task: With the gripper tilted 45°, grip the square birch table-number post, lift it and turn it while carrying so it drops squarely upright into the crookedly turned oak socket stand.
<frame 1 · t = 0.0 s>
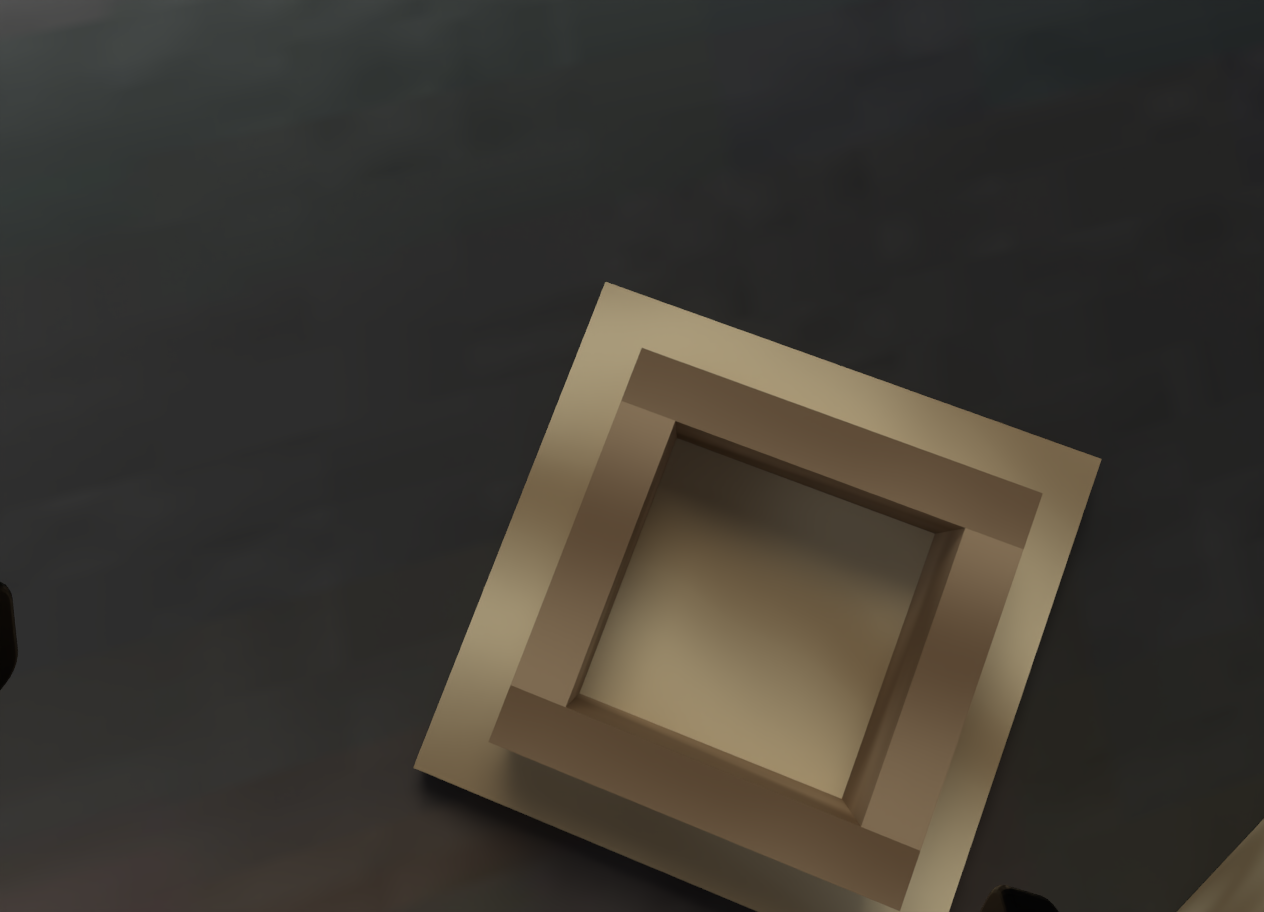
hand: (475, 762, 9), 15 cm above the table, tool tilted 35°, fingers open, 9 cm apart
socket stand: (754, 612, 23), on the table
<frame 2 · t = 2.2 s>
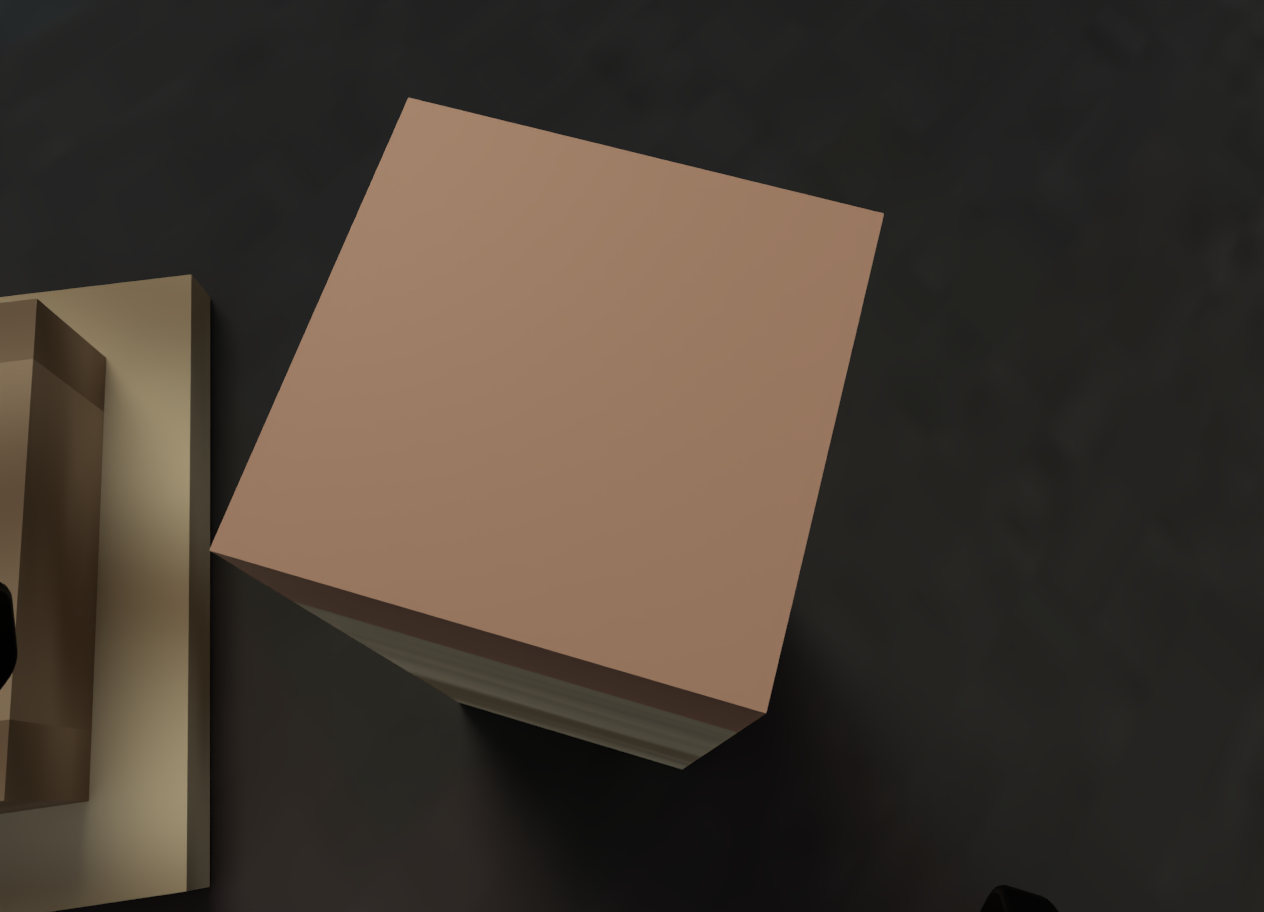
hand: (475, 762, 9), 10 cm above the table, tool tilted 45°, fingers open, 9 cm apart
birch post: (603, 623, 19), on the table
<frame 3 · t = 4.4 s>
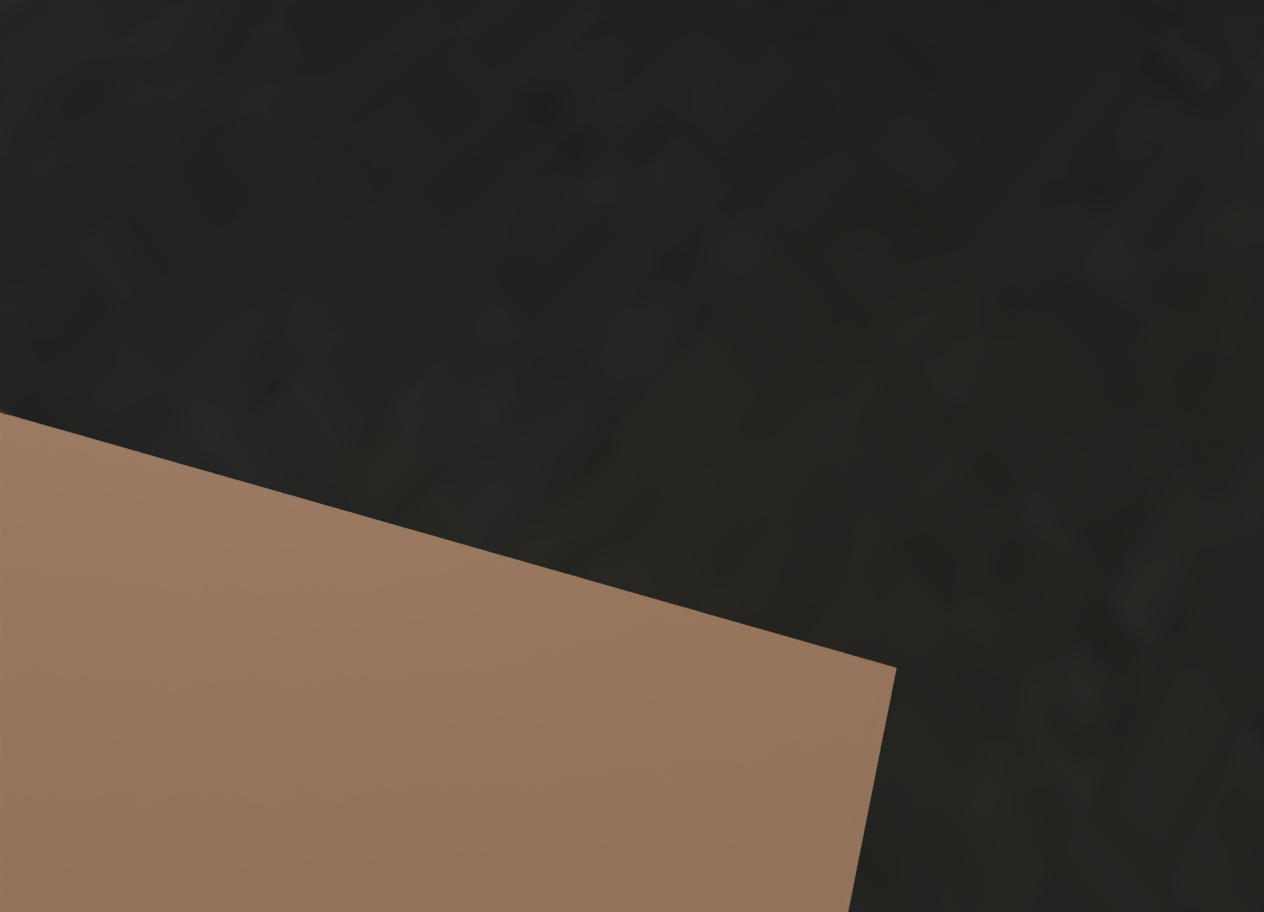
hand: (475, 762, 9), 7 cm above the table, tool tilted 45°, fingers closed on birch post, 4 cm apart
birch post: (510, 872, 14), on the table, touching gripper
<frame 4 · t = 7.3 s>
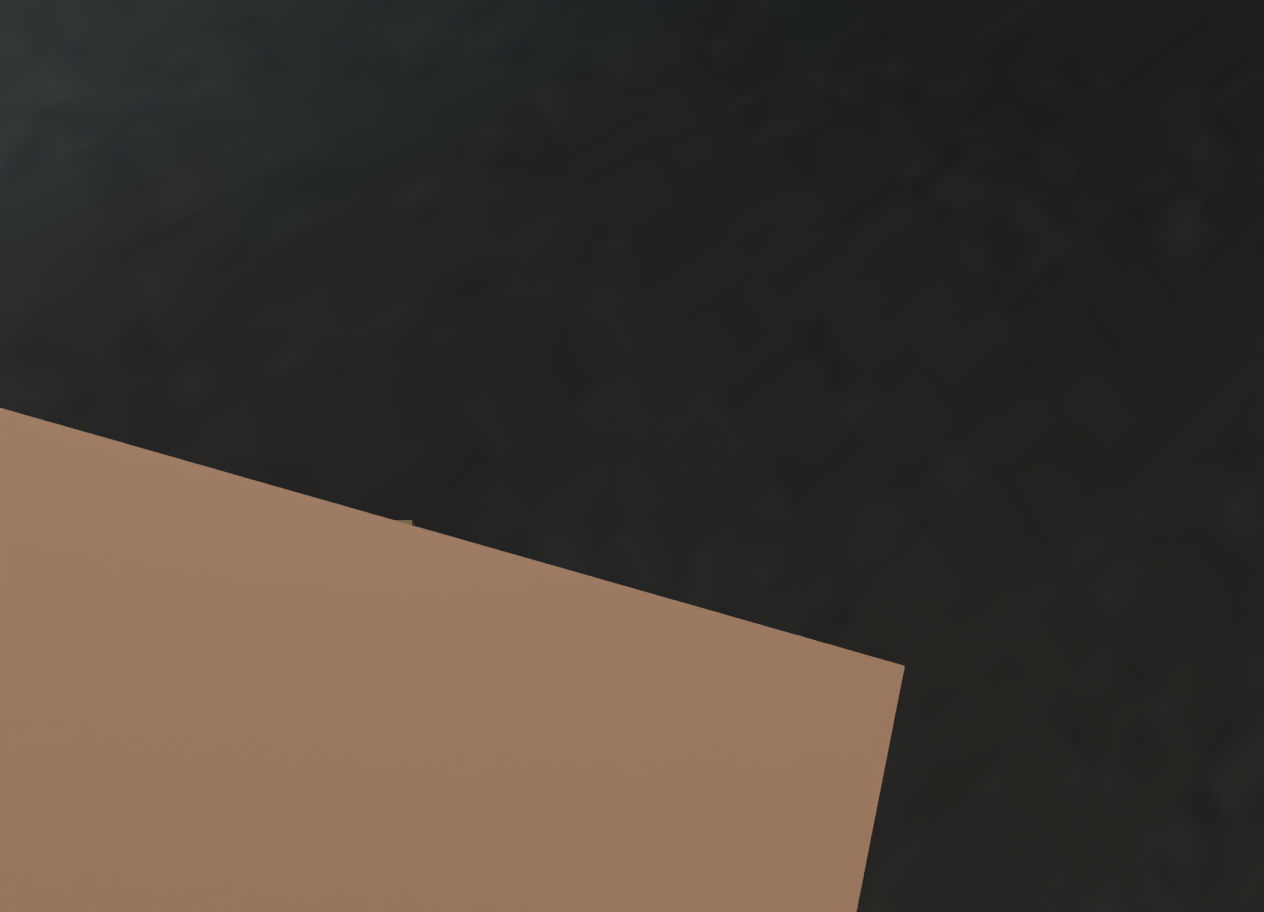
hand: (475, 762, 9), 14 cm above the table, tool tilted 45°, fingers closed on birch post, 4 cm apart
birch post: (513, 872, 14), point 7 cm above the table, touching gripper
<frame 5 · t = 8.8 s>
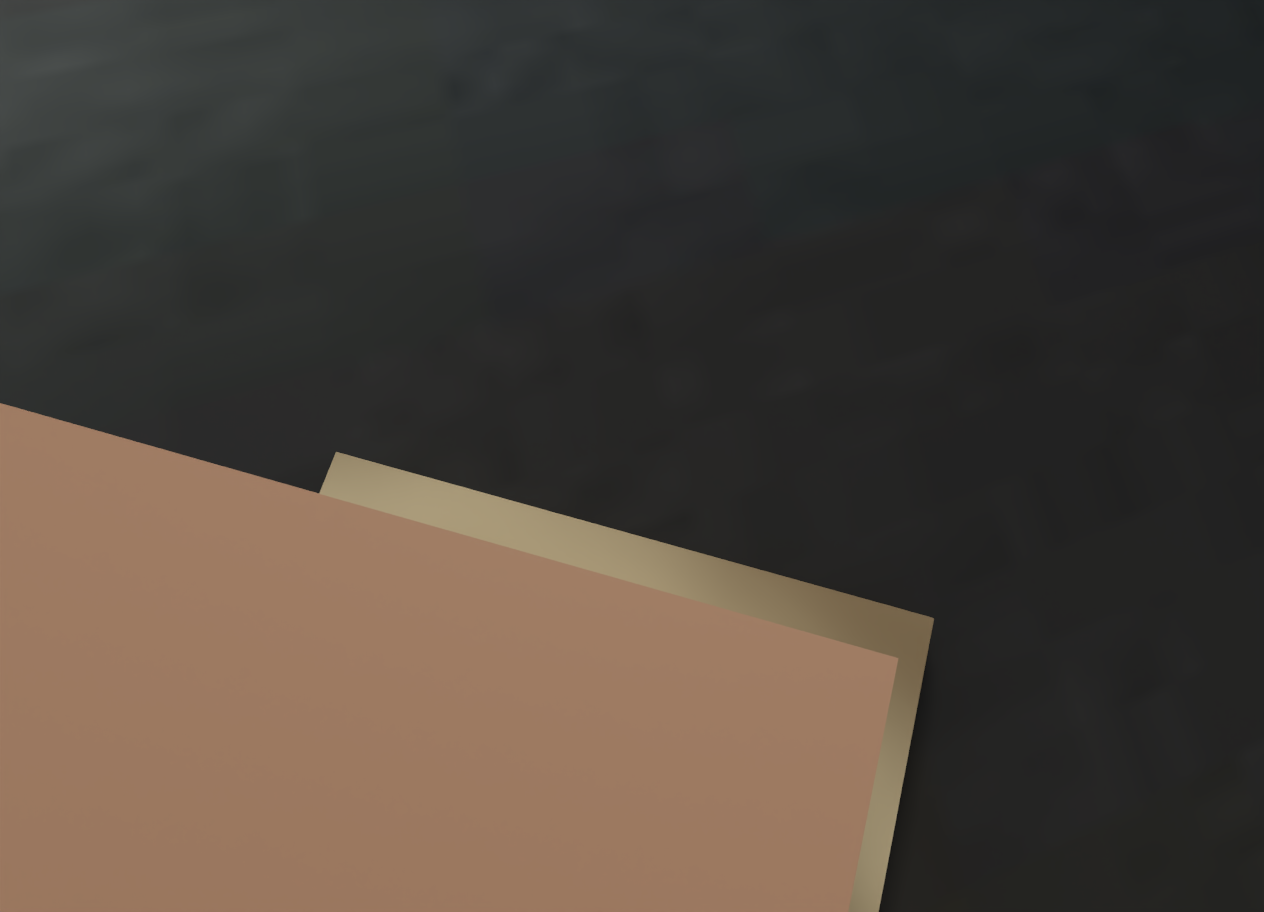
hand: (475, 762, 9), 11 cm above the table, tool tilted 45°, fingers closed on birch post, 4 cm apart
birch post: (511, 870, 14), point 4 cm above the table, touching gripper
socket stand: (536, 851, 18), on the table
when the fingers open (9 cm above the table, at t = 10.2 s): birch post drops 1 cm, resting on socket stand.
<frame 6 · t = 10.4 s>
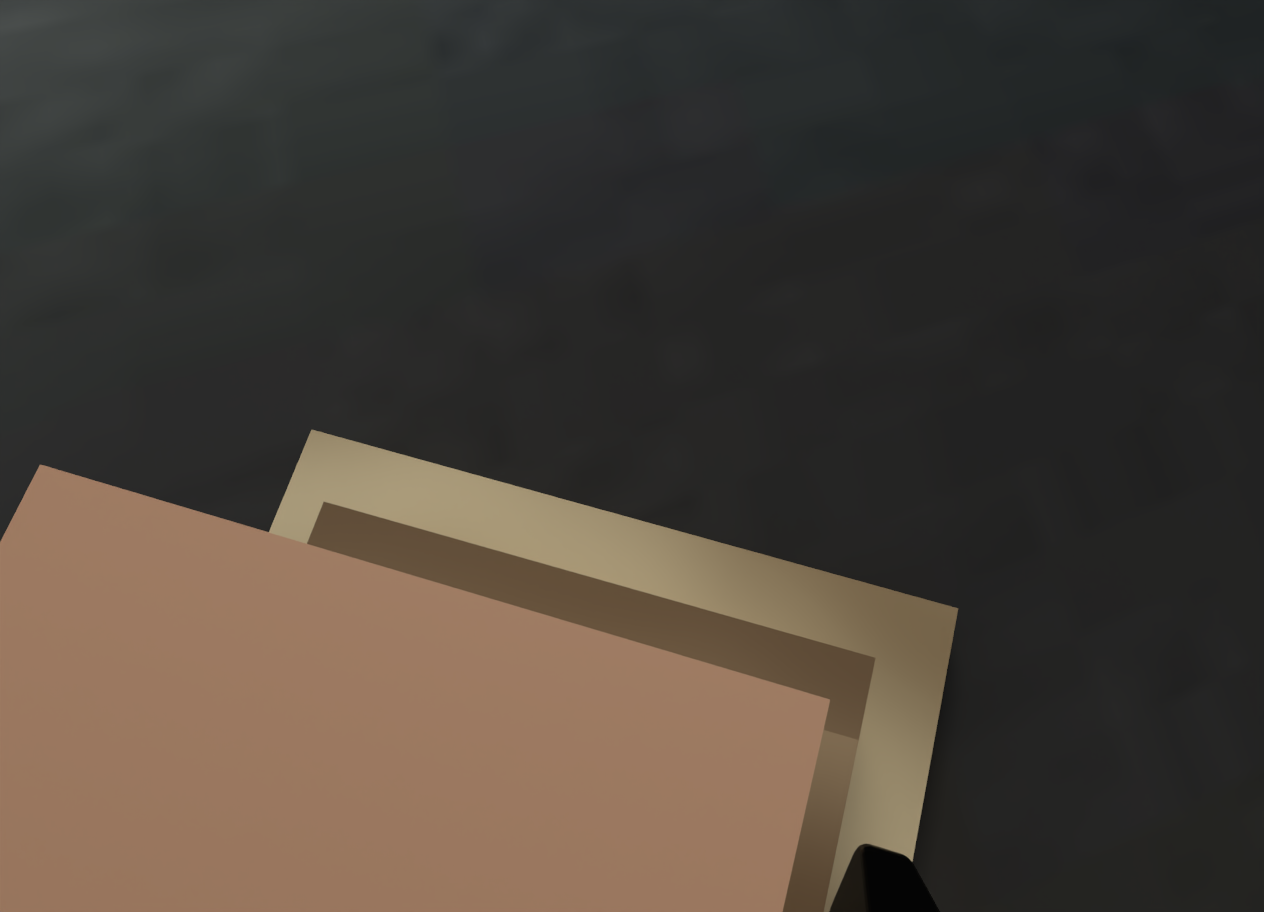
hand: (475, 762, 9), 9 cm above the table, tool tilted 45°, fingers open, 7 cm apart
birch post: (523, 863, 16), point 1 cm above the table, touching socket stand
socket stand: (527, 861, 17), on the table
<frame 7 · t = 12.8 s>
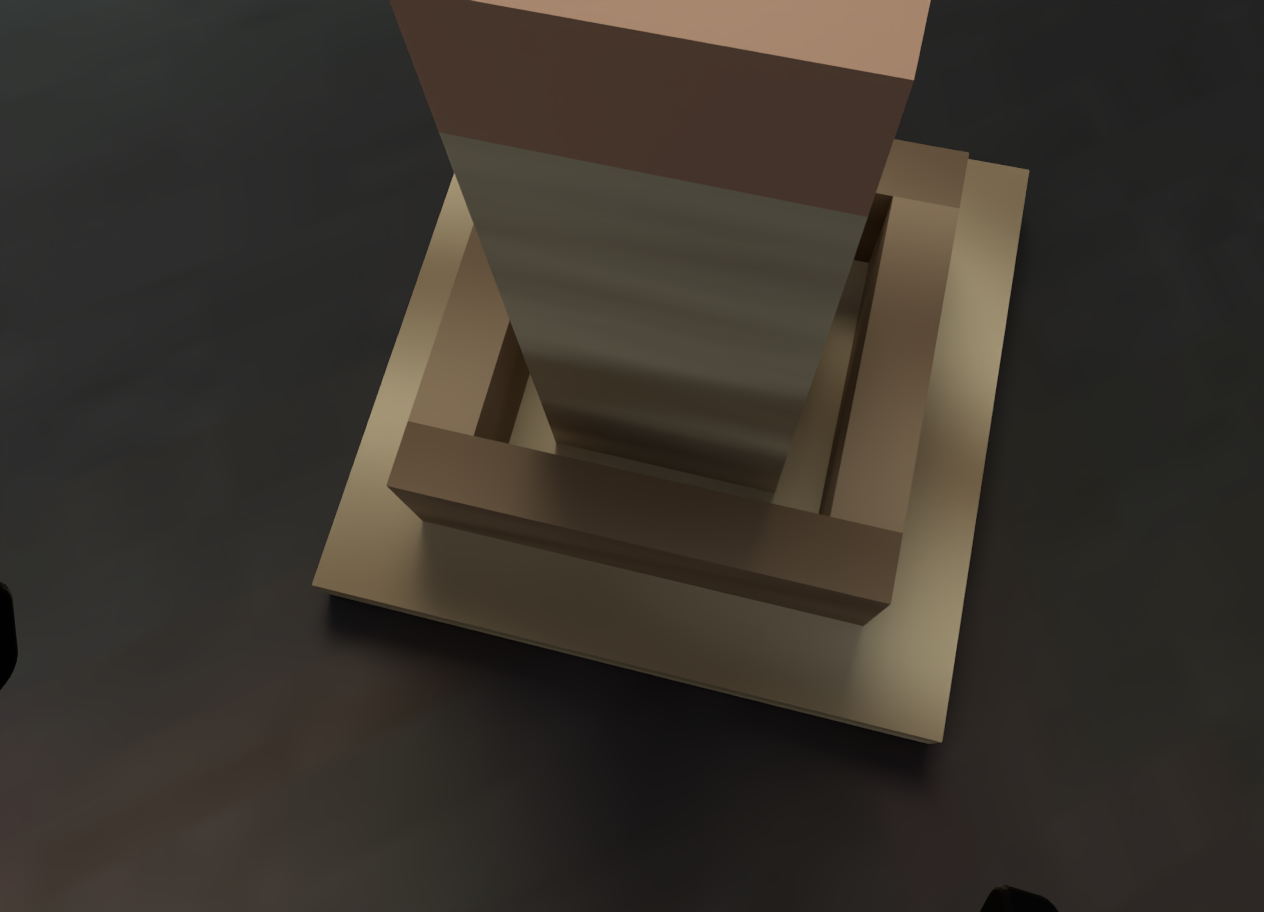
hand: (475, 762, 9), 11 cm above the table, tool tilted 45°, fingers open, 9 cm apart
birch post: (690, 366, 20), point 1 cm above the table, touching socket stand
socket stand: (688, 385, 21), on the table
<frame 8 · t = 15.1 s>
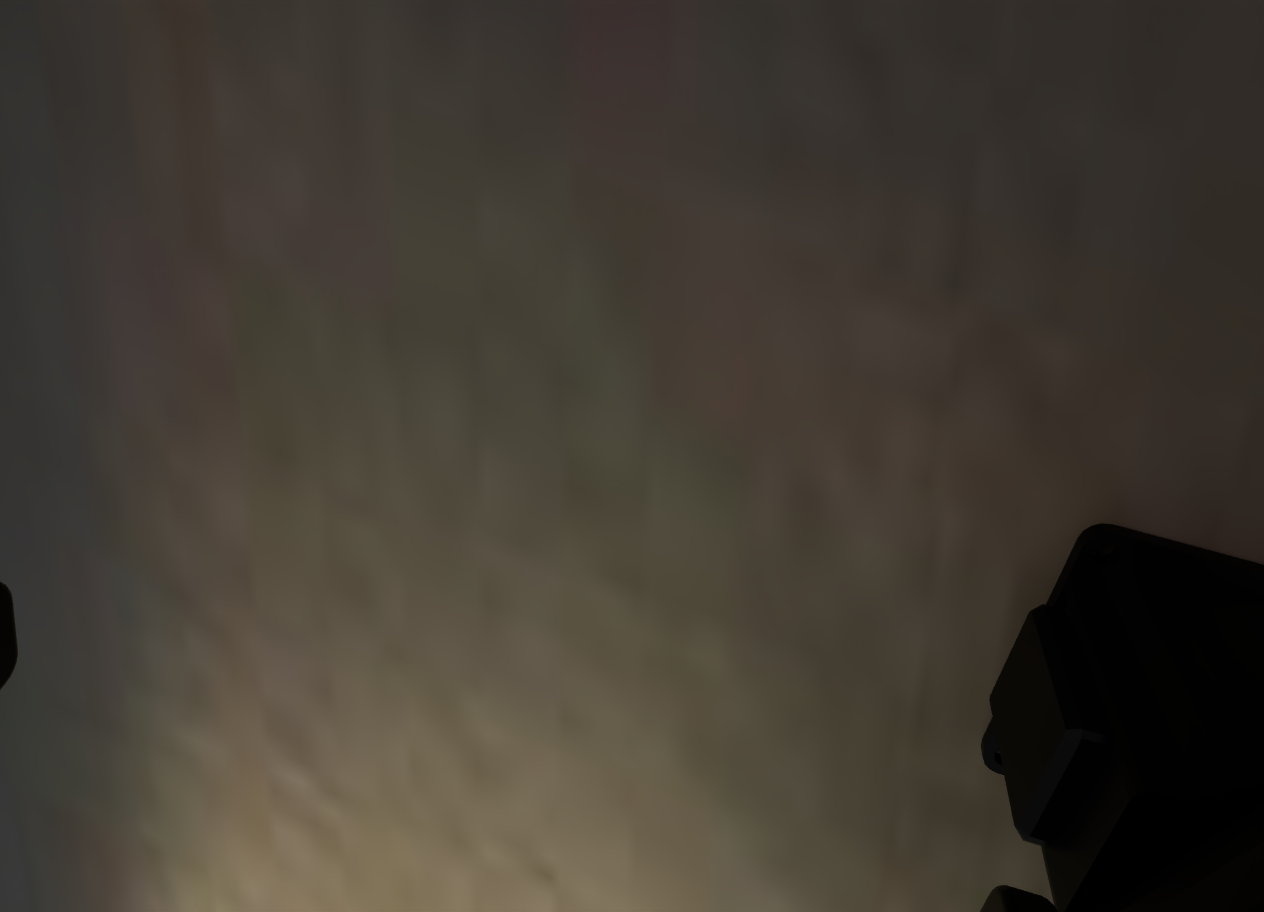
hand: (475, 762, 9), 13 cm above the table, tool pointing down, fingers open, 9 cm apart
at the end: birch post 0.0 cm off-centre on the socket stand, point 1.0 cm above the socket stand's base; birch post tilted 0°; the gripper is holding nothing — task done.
